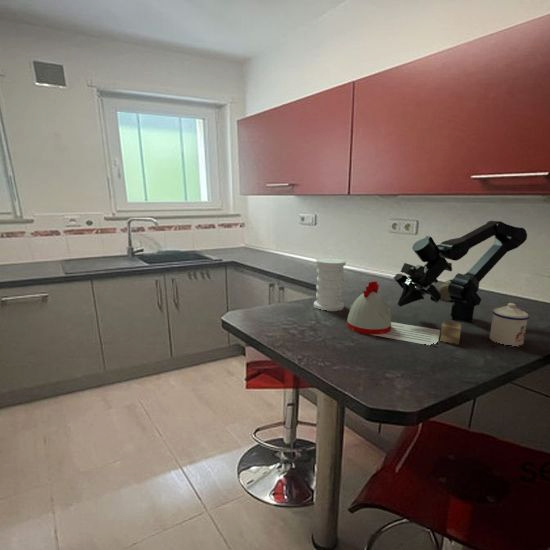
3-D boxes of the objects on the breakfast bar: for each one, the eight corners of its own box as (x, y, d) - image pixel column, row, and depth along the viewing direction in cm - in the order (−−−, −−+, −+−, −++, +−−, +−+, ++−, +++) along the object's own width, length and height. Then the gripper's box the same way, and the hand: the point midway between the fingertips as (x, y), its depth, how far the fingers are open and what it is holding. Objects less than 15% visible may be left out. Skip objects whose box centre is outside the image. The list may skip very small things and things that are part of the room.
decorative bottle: (454, 303, 149) (456, 287, 147) (435, 300, 153) (436, 284, 152) (464, 290, 170) (466, 276, 168) (446, 288, 174) (448, 274, 172)
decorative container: (350, 308, 139) (353, 261, 135) (326, 313, 133) (329, 264, 129) (330, 300, 148) (332, 257, 145) (307, 304, 142) (309, 259, 139)
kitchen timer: (398, 326, 119) (402, 282, 116) (377, 338, 109) (380, 289, 106) (361, 317, 129) (363, 275, 126) (338, 326, 119) (340, 281, 116)
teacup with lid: (522, 350, 103) (528, 310, 100) (485, 341, 108) (491, 304, 106) (527, 338, 112) (533, 301, 109) (493, 330, 117) (498, 296, 115)
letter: (440, 330, 117) (440, 330, 117) (436, 346, 104) (437, 346, 104) (380, 320, 126) (380, 320, 125) (370, 334, 112) (370, 334, 112)
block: (459, 339, 110) (461, 323, 109) (458, 345, 106) (460, 328, 105) (441, 336, 112) (443, 320, 111) (440, 341, 108) (441, 325, 107)
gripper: (400, 250, 127) (370, 283, 127) (437, 259, 110) (402, 297, 109) (417, 272, 131) (388, 303, 130) (456, 284, 113) (422, 320, 113)
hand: (398, 305), depth 120 cm, fingers closed
